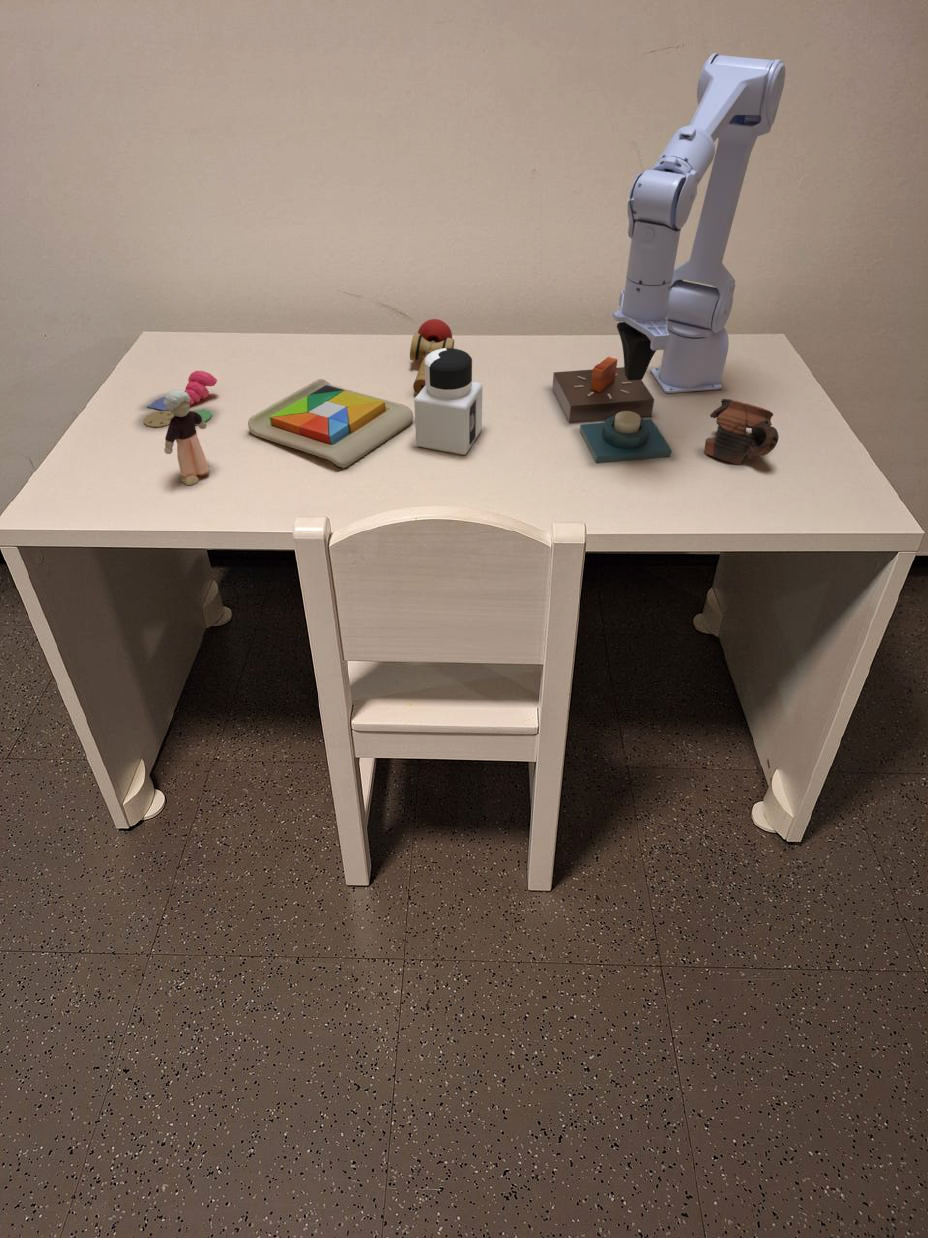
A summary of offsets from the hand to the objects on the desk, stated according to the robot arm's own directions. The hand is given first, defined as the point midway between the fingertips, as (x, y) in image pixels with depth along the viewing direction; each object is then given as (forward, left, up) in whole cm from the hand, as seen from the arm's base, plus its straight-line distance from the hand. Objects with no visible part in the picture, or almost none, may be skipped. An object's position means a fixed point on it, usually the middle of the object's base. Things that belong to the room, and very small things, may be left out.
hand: (634, 377), depth 112 cm
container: (+25, -6, -11) cm, 28 cm away
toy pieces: (+65, -21, -11) cm, 69 cm away
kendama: (+25, -28, -11) cm, 39 cm away
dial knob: (0, -12, -7) cm, 14 cm away
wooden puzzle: (+42, -12, -11) cm, 45 cm away
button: (0, 0, -8) cm, 8 cm away
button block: (0, 0, -10) cm, 10 cm away
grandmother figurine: (+61, -2, -11) cm, 62 cm away
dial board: (0, -13, -10) cm, 16 cm away
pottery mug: (-16, +4, -11) cm, 20 cm away
